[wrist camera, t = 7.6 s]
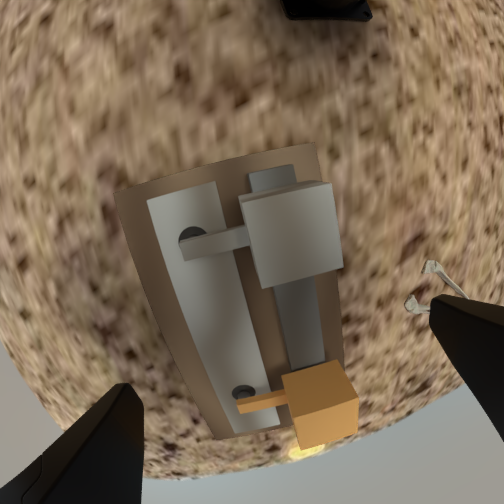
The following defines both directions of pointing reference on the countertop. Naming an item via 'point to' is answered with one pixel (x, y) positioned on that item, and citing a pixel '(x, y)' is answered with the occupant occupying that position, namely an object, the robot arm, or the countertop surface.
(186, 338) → the board
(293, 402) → the orange block with tab
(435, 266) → the grey tweezers
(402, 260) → the countertop surface
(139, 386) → the countertop surface
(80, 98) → the countertop surface
